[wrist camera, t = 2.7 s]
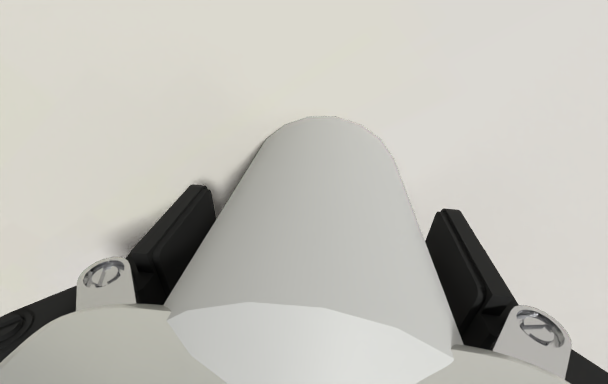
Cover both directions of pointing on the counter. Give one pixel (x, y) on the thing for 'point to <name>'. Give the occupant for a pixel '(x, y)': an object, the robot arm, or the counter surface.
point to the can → (316, 270)
